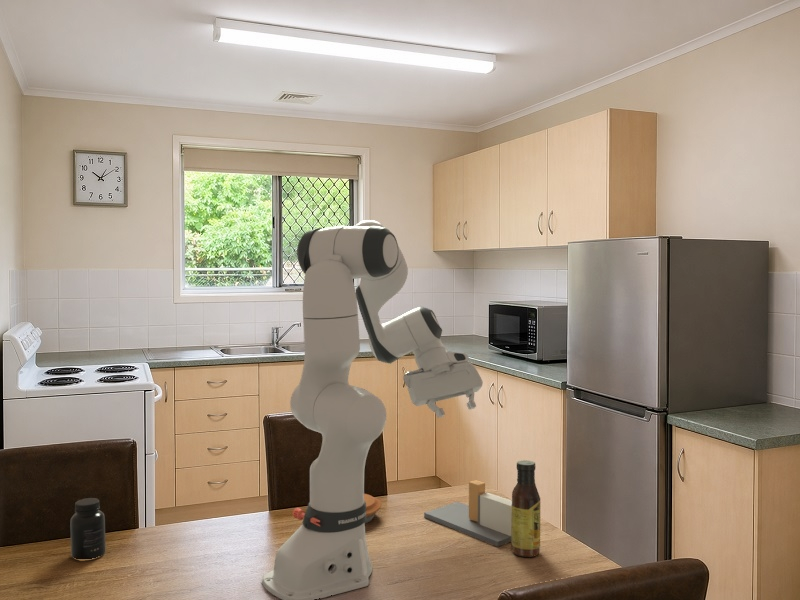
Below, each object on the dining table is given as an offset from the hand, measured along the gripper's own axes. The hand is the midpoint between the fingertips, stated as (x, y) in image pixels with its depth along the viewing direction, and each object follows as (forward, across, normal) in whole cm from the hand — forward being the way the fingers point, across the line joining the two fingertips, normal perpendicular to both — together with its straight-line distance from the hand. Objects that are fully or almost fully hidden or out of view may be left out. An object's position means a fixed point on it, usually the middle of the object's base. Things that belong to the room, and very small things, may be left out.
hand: (457, 412), depth 173 cm
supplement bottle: (+3, -87, +22) cm, 90 cm away
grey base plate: (+26, -4, +8) cm, 27 cm away
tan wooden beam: (+25, -3, +7) cm, 26 cm away
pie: (+12, -28, +21) cm, 38 cm away
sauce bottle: (+37, -3, -6) cm, 38 cm away
